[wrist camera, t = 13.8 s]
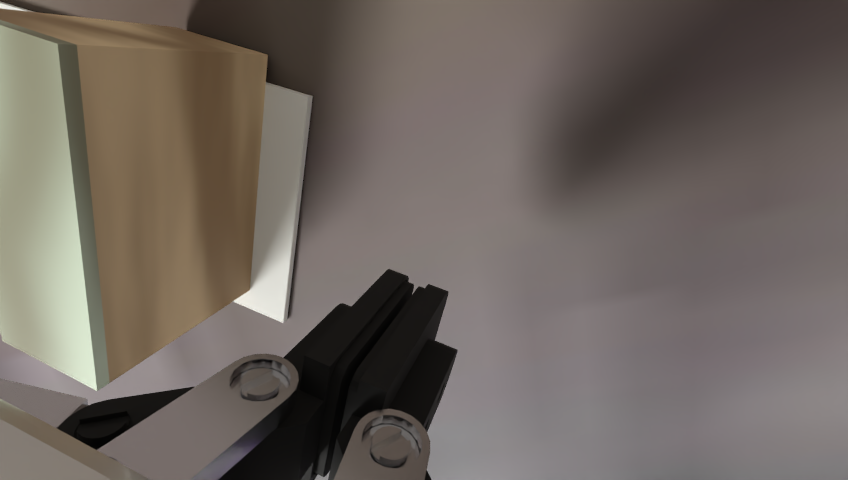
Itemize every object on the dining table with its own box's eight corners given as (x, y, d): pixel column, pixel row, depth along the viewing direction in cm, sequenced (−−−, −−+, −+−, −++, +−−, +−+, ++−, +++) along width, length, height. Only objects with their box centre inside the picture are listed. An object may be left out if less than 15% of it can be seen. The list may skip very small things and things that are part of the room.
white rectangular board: (312, 96, 16) (308, 96, 15) (287, 319, 20) (283, 322, 20) (-9, -2, 19) (-17, -3, 19) (28, 208, 23) (21, 210, 23)
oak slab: (267, 54, 15) (57, 43, 9) (249, 290, 20) (97, 391, 13) (176, 27, 16) (-74, 0, 10) (177, 259, 20) (2, 341, 14)
